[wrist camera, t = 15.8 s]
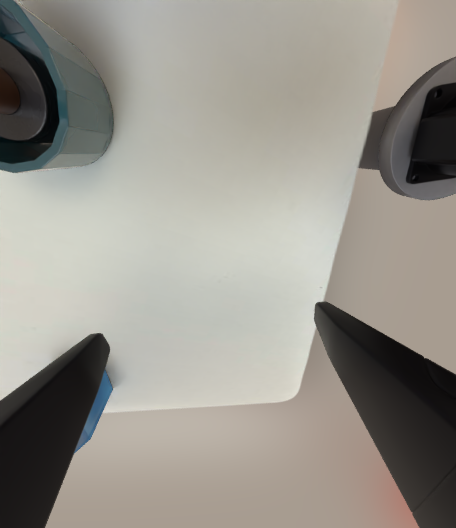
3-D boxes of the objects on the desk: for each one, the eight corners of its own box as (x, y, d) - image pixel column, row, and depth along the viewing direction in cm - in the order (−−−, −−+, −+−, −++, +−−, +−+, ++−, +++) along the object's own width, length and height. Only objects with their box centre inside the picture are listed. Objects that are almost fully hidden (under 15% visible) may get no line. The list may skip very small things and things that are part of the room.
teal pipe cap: (82, 16, 13) (4, -65, 8) (129, 158, 17) (94, 160, 12) (-40, 38, 13) (-187, -28, 9) (33, 174, 17) (-39, 181, 12)
